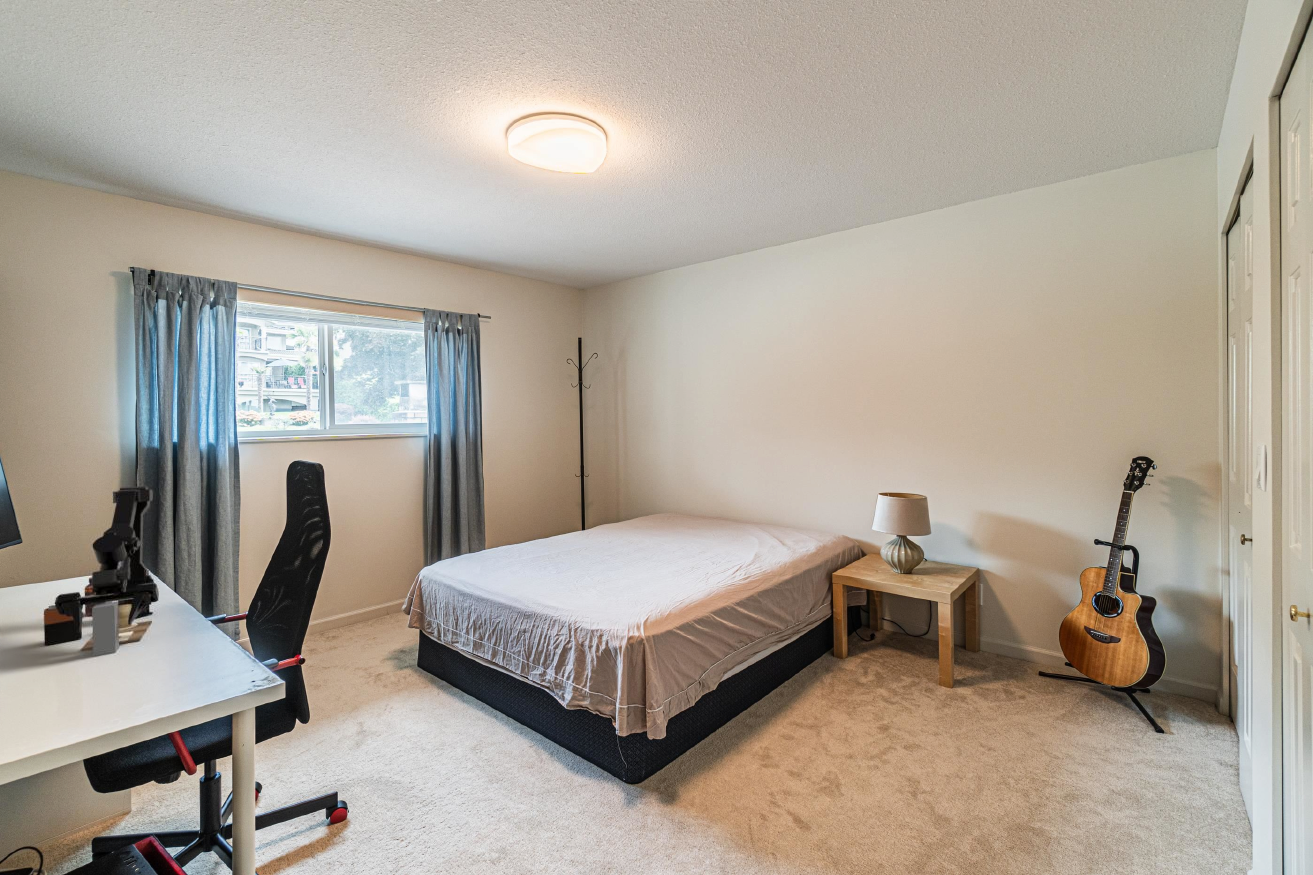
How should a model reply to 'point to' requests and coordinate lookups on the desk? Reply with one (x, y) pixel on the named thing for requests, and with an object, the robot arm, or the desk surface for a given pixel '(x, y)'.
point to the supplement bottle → (89, 593)
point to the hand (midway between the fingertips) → (104, 627)
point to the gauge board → (125, 628)
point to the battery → (59, 627)
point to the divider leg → (105, 628)
